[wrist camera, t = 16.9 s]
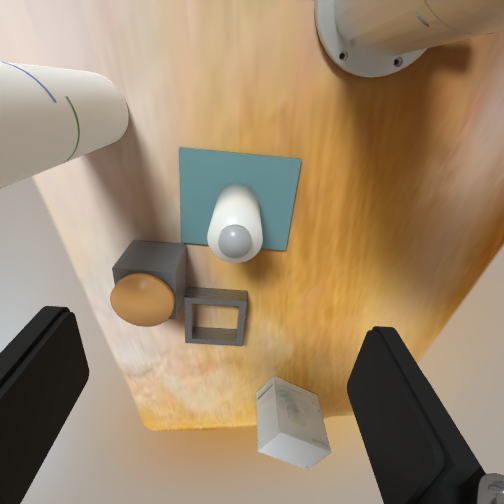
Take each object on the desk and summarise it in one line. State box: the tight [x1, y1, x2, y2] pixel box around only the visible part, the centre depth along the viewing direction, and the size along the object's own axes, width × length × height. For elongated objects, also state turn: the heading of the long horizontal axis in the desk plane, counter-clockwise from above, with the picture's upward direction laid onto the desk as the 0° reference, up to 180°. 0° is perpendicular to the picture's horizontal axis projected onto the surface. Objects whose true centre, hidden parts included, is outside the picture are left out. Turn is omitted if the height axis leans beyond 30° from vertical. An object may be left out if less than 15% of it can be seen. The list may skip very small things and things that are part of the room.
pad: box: [179, 147, 301, 251], centre depth 36 cm, size 14×12×1 cm
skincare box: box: [256, 376, 331, 470], centre depth 51 cm, size 10×6×10 cm, turn 56°
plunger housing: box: [112, 240, 187, 319], centre depth 38 cm, size 7×7×7 cm
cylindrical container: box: [0, 62, 129, 189], centre depth 21 cm, size 7×7×25 cm
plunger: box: [110, 273, 175, 327], centre depth 36 cm, size 7×7×5 cm
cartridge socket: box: [184, 287, 247, 346], centre depth 44 cm, size 9×9×2 cm
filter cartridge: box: [207, 183, 263, 263], centre depth 31 cm, size 5×5×11 cm
